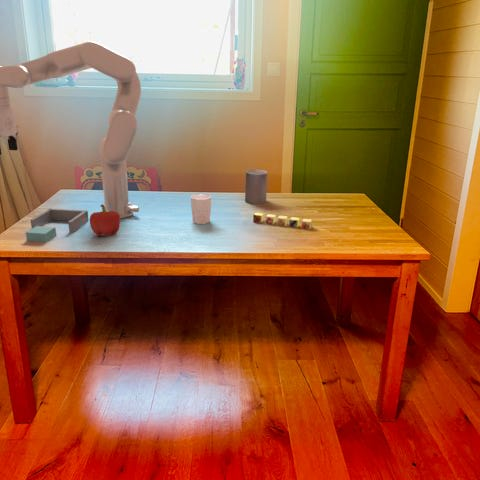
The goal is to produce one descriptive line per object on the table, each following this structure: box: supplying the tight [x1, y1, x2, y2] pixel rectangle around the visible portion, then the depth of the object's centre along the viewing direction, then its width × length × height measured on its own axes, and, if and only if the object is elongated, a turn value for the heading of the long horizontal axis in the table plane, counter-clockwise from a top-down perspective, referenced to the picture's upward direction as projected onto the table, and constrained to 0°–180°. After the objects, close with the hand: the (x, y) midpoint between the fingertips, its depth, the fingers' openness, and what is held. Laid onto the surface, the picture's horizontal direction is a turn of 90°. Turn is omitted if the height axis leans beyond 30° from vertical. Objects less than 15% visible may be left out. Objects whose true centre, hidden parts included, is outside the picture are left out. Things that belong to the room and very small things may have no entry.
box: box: [30, 208, 89, 233], centre depth 178 cm, size 15×14×4 cm
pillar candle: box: [244, 168, 268, 205], centre depth 213 cm, size 10×10×15 cm
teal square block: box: [25, 225, 57, 244], centre depth 164 cm, size 7×7×4 cm
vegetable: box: [89, 204, 121, 237], centre depth 169 cm, size 11×10×10 cm
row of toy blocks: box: [252, 212, 313, 230], centre depth 183 cm, size 32×32×3 cm
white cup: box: [190, 193, 212, 225], centre depth 185 cm, size 8×8×10 cm
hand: (5, 152), depth 171 cm, fingers open, 9 cm apart
